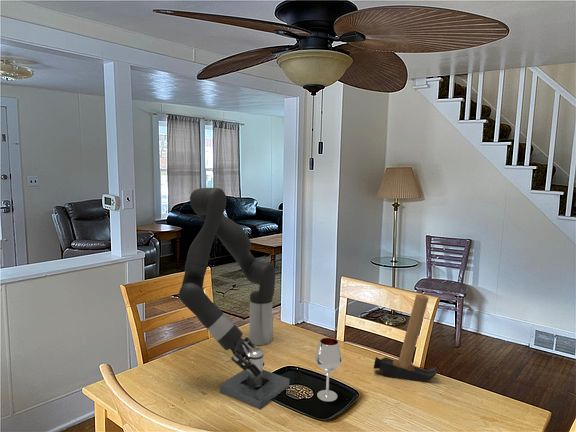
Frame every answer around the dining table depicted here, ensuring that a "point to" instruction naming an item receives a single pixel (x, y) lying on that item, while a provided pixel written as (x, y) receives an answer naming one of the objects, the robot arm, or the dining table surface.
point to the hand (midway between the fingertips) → (260, 370)
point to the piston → (257, 359)
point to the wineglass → (328, 364)
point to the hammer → (408, 349)
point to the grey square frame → (251, 396)
